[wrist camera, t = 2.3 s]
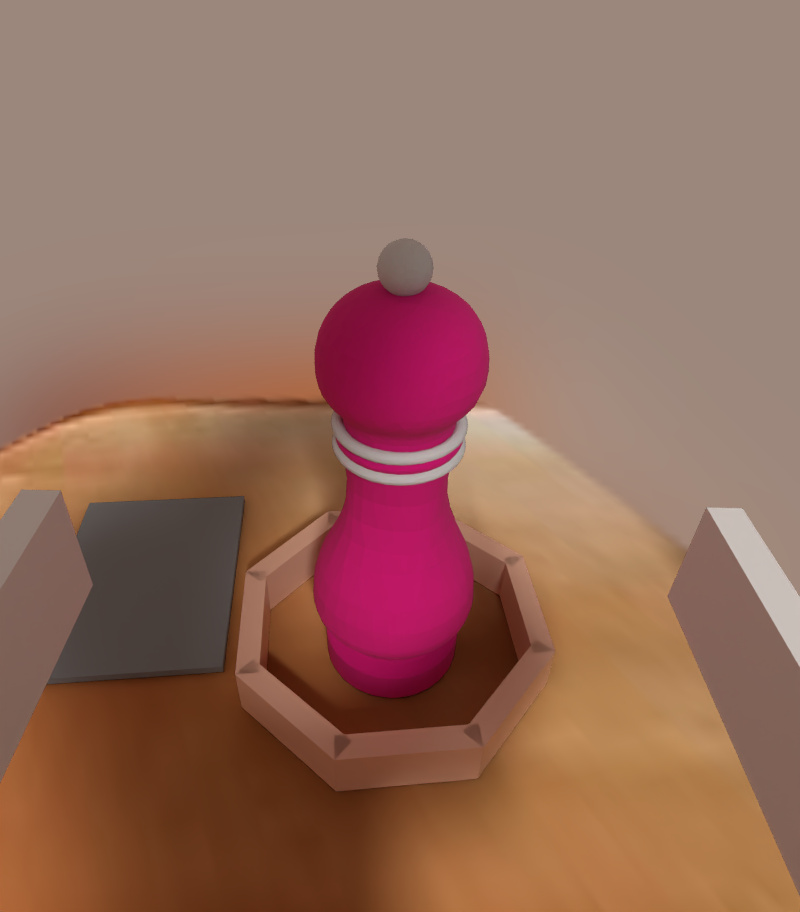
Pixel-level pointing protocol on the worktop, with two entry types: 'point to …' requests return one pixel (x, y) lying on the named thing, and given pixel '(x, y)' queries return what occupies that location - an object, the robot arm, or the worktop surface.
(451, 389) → the pepper mill
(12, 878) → the worktop surface
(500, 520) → the worktop surface
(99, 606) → the mat
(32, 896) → the worktop surface
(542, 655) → the octagonal frame ring
